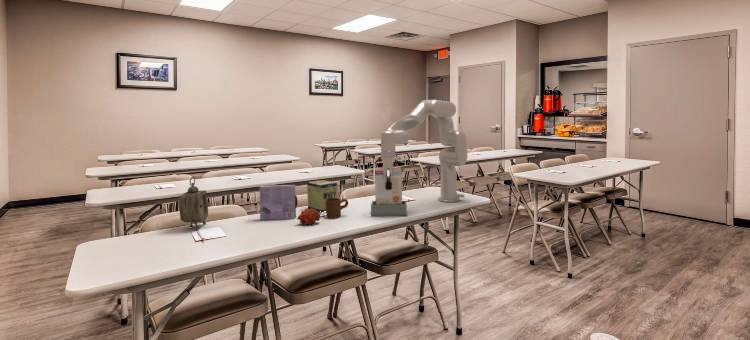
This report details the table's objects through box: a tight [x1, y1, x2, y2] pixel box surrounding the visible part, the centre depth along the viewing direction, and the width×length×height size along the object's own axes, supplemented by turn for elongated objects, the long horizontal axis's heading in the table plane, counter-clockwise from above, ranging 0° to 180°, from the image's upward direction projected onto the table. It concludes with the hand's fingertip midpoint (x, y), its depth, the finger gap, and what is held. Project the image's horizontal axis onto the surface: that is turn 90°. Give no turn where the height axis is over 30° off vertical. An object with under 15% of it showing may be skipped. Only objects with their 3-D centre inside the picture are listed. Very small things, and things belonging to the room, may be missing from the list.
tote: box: [370, 200, 408, 217], centre depth 231 cm, size 19×11×6 cm, turn 86°
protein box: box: [306, 179, 338, 213], centre depth 245 cm, size 10×16×16 cm
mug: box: [325, 197, 349, 219], centre depth 228 cm, size 12×8×9 cm, turn 110°
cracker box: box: [374, 166, 403, 205], centre depth 230 cm, size 14×6×21 cm, turn 84°
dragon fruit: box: [296, 208, 321, 226], centre depth 214 cm, size 8×8×12 cm
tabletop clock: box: [178, 176, 209, 230], centre depth 210 cm, size 14×9×25 cm, turn 5°
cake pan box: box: [259, 184, 298, 221], centre depth 225 cm, size 19×5×18 cm, turn 100°
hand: (388, 188), depth 230 cm, fingers closed on cracker box, 6 cm apart
